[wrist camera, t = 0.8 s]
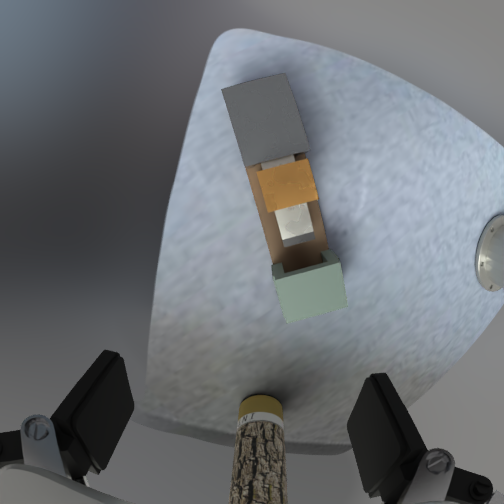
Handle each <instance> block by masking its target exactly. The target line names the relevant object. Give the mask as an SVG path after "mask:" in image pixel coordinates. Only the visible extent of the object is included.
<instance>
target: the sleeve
mask: <svg viewBox="0 0 504 504" xmlns="http://www.w3.org/2000/svg"><path fill="white" fill-rule="evenodd" d="M221 90H222V93H223V97H224V100H225V103H226V106H227V110H228V113H229V116H230V119H231V123H232V126H233V129H234V132H235V136H236V139H237V142H238V146H239V149H240V152H241V156H242V159H243V162H244V166H245V168H247V169H250V168H253V167H255V166H254V165H256V164H260V163H264V162H267V161H271V160H275V159H279V158H282V157H286V156H290V155H294V154H296V156H299V155H303V154H305V153H306V152H308V151H310V146H309V143H308V140H307V136H306V133H305V130H304V127H303V123H302V120H301V117H300V114H299V111H298V108H297V105H296V102H295V99H294V96H293V93H292V91H291V88H290V85H289V82H288V79H287V77H286V74H285V73H283V74H278V75H273V76H269V77H265V78H261V79H256V80H252V81H249V82H245V83H241V84H238V85H234V86H231V87H227V88H224V89H221Z"/></svg>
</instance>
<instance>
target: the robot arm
mask: <svg viewBox="0 0 504 504" xmlns="http://www.w3.org/2000/svg"><path fill="white" fill-rule="evenodd" d="M475 267H476V275H477V279H478V281H479V283H480V285H481V286H482V287H483V288H485V289H486V290H488V291H492V292H494V291H498V290H499V289H501V288H503V289H504V215H498V216H496V217H494V218H493V219H492V220H491V221H490V222H489V223H488V224H487V226H486V227H485V229H484V231H483V233H482V235H481V238H480V241H479V244H478V248H477V253H476V263H475ZM133 411H134V401H133V397H132V393H131V390H130V386H129V382H128V377H127V373H126V368H125V364H124V359H123V358H122V357H120V354H119V353H117V352H113V351H109V350H104V351H103V352H102V353H101V354H100V355H99V357H98V358H97V359H96V360H95V362H94V363H93V364H92V365H91V367H90V368H89V369H88V370H87V371H86V373H85V374H84V375H83V377H82V378H81V379H80V380H79V381H78V382H77V384H76V385H75V386H74V388H73V389H72V390H71V391H70V393H69V394H68V395H67V396H66V398H65V399H64V400H63V402H62V403H61V404H60V406H59V407H58V409H57V410H56V411H55V412H54V414H53V415H52V416H51V418H50V419H49V418H48V417H46V416H44V415H40V414H37V415H36V414H35V415H31V416H29V417H27V418H26V419H25V420H24V421H23V422H22V424H21V429H20V430H16V431H10V432H3V433H0V504H134V503H131V502H128V501H125V500H122V499H119V498H116V497H113V496H110V495H108V494H105V493H102V492H100V491H97V490H94V489H92V488H90V487H89V484H88V481H87V479H86V474H87V472H88V471H90V472H93V473H95V474H98V475H99V473H100V471H101V470H104V469H105V468H106V467H107V464H108V462H109V460H110V458H111V456H112V454H113V452H114V450H115V448H116V445H117V443H118V441H119V439H120V437H121V435H122V433H123V431H124V429H125V427H126V425H127V423H128V421H129V419H130V417H131V415H132V413H133ZM347 430H348V433H349V437H350V440H351V444H352V447H353V451H354V454H355V458H356V462H357V466H358V469H359V473H360V477H361V481H362V484H363V488H364V491H365V492H366V493H369V497H370V498H372V497H377V496H381V498H382V501H383V502H382V503H381V504H504V495H503V494H501V493H500V492H498V491H495V492H493V486H492V483H491V481H490V480H489V479H488V478H486V477H484V476H481V475H478V474H475V473H472V472H469V471H466V470H463V469H460V468H457V467H455V461H454V458H453V456H452V455H451V454H450V453H449V452H448V451H446V450H444V449H440V448H434V449H431V450H427V448H426V446H425V444H424V442H423V440H422V438H421V436H420V434H419V432H418V430H417V428H416V426H415V424H414V422H413V420H412V418H411V416H410V415H409V413H408V411H407V409H406V407H405V405H404V404H403V403H402V401H401V399H400V397H399V395H398V393H397V392H396V390H395V388H394V386H393V384H392V382H391V381H390V379H389V377H388V375H387V374H386V373H375V374H371V375H370V377H368V378H366V380H365V382H364V384H363V387H362V389H361V392H360V394H359V397H358V399H357V402H356V404H355V406H354V408H353V411H352V413H351V415H350V417H349V420H348V422H347Z"/></svg>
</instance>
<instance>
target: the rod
mask: <svg viewBox="0 0 504 504" xmlns="http://www.w3.org/2000/svg"><path fill="white" fill-rule="evenodd" d="M261 166H262V170H261V171H258V172H256V173H257V176H258V180H259V183H260V186H261V190H262V193H263V197H264V200H265V204H266V207H267V211H268V213H269V212H272V211H274V212H275V215H276V219H277V223H278V226H279V230H280V234H281V237H282V241H283V244H284V247H288V246H292V245H295V244H299V243H303V242H307V241H310V240H314V239H315V235H314V231H313V226H312V222H311V218H310V214H309V210H308V206H307V203H306V202H310V201H314V200H318V199H319V198H318V194H317V190H316V186H315V182H314V178H313V175H312V171H311V167H310V164H309V160H308V159H304V160H300V161H296V162H295V159H294V155H290V156H286V157H282V158H279V159H275V160H271V161H267V162H264V163H261Z"/></svg>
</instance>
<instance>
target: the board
mask: <svg viewBox="0 0 504 504" xmlns="http://www.w3.org/2000/svg"><path fill="white" fill-rule="evenodd" d="M294 159H295V162H296V161H300V160H304V159H306V156H305V154H303V155H299V156H296V154H294ZM254 166H255V167H253V168H250V169H247V168H246V171H247V175H248V178H249V182H250V185H251V189H252V192H253V195H254V199H255V202H256V206H257V209H258V213H259V216H260V220H261V223H262V227H263V230H264V234H265V237H266V241H267V244H268V248H269V251H270V255H271V259H272V262H273V265H274V264H277V263H281V262H282V265H283V269H284V273H287V272H291V271H295V270H299V269H302V268H306V267H310V266H313V265H317V264H321V263H323V260H322V256H321V252H322V251H325V250H329V248H328V243H327V238H326V234H325V230H324V225H323V221H322V217H321V213H320V209H319V205H318V201H317V200H314V201H310V202H306V203H307V206H308V210H309V214H310V218H311V222H312V226H313V231H314V235H315V239H314V240H310V241H307V242H303V243H299V244H295V245H292V246H288V247H284V244H283V241H282V237H281V234H280V230H279V226H278V223H277V219H276V215H275V212H274V211H272V212H269V213H268V211H267V207H266V204H265V200H264V197H263V193H262V190H261V186H260V183H259V180H258V176H257V173H256V172H258V171H261V170H262V166H261V163H260V164H256V165H254Z"/></svg>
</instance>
